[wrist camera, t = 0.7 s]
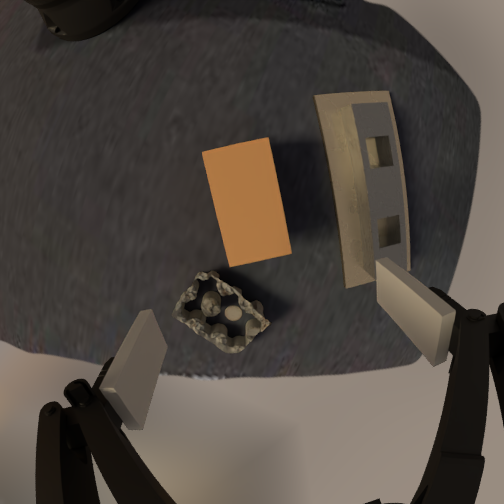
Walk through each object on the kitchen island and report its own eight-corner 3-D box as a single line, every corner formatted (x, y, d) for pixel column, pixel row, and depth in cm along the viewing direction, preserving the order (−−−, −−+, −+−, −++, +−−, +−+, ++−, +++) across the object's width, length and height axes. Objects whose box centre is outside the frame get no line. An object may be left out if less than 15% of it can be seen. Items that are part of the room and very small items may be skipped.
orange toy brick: (209, 154, 31) (201, 152, 24) (261, 142, 31) (268, 137, 24) (231, 246, 34) (229, 267, 28) (281, 235, 34) (291, 253, 28)
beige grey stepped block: (312, 96, 29) (322, 88, 25) (385, 92, 29) (402, 85, 25) (344, 286, 37) (355, 300, 33) (407, 268, 36) (423, 279, 32)
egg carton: (272, 308, 37) (276, 325, 34) (235, 345, 39) (236, 363, 35) (207, 259, 35) (204, 271, 31) (172, 301, 36) (166, 316, 32)
